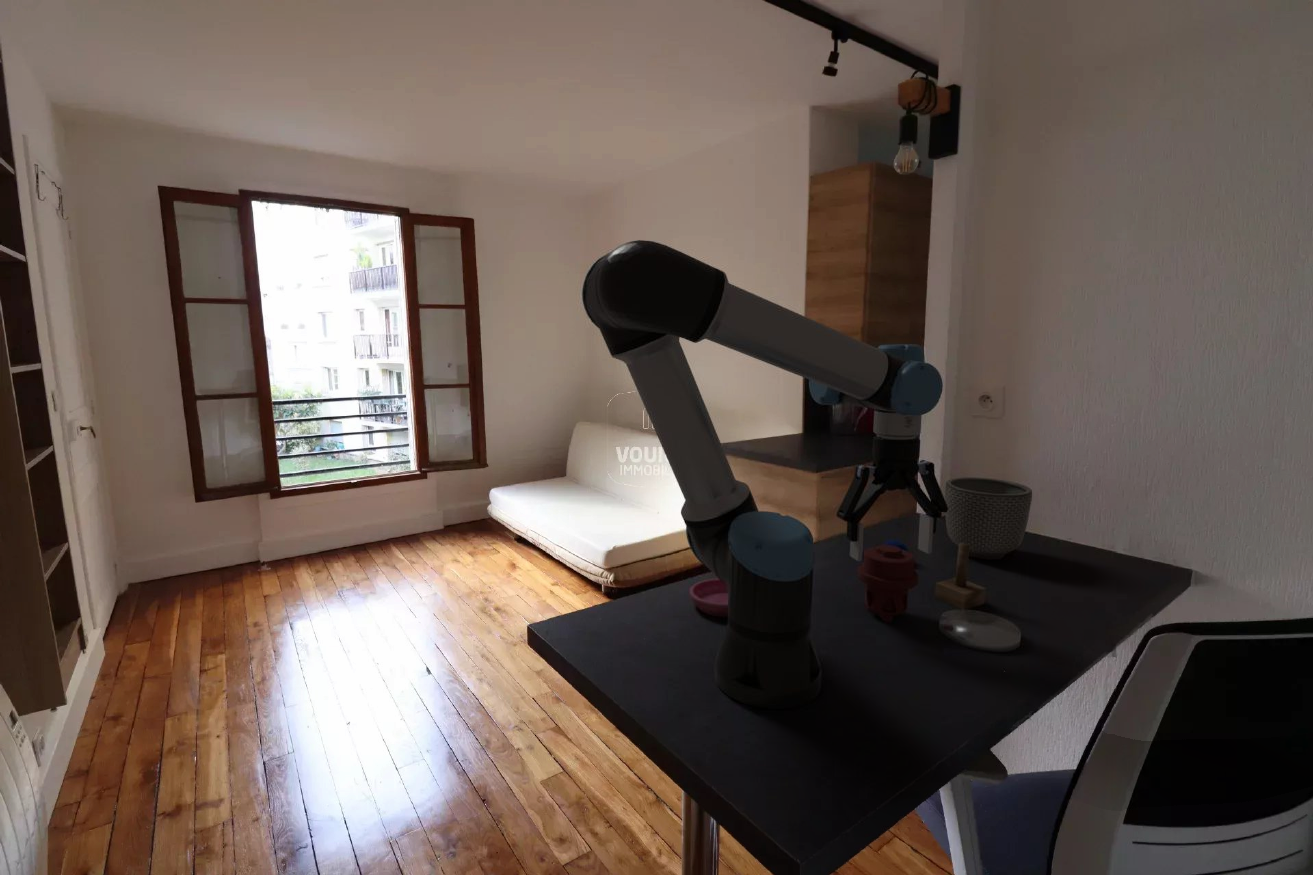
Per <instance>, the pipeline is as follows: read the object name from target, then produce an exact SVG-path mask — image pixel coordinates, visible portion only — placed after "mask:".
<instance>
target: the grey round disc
mask: <svg viewBox="0 0 1313 875" xmlns="http://www.w3.org/2000/svg"><path fill="white" fill-rule="evenodd" d="M938 626H939V627H938V628H939V631H940V632H941V633H942V635H944V636H945V637H946V638H948V639H949V640H951V641H953V642H955V643H957V644H958V645H962V646H964V647H968V648H971V649H974V650H979V651H985V652H995V653H1001V652H1002V653H1003V652H1010V651H1014V650H1016V649H1018V648H1019V647H1020V646H1021V639H1022V638H1021V637H1022V632H1021V629H1020V628H1019V627H1018V626H1017V625H1016V624H1015V623H1013V622H1011V621H1010V620H1007V619H1006V618H1003V617H1001V616H999V615H996V614H993V613H989V612H985V611H980V610H974V609H965V610H963V609H952V610H947V611H945V612H943V613H941V615H940V616H939V625H938Z"/></svg>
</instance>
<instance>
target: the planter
mask: <svg viewBox="0 0 1313 875" xmlns="http://www.w3.org/2000/svg"><path fill="white" fill-rule="evenodd" d="M944 489H945V490H944V499H945V502H946V504H947V507H948V511H947V512H945V513H944V514H945V526H946V531H947V532H946V533H947V535H948V537H949V539H950V540H951V541H952V542H953V543H954V544H955V545H957V546H959V543H966V544H969V545H970V546H969V557H972V558H974V559H979V560H980V559H981V560H988V561H995V560H996V561H997V560H1001V559H1003V558H1004V556H1005V555H1006V554H1007V553H1008V554H1009V553H1011V552H1013V551H1014V550H1016V549H1018V548H1019V547H1020V545H1021V544H1022V541H1023V539H1024V536H1025V533H1026V530H1027V526H1028V521H1029V516H1030V511H1031V505H1032V499H1033V491H1032V488H1030V487H1029V486H1027V485H1024V484H1021V483H1018V482H1014V481H1009V480H1002V479H999V478H998V479H995V478H989V477H988V478H987V477H955V478H950V479H948V480H947V481H946V483H945V487H944Z"/></svg>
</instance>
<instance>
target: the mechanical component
mask: <svg viewBox="0 0 1313 875" xmlns="http://www.w3.org/2000/svg"><path fill="white" fill-rule="evenodd" d="M867 548H868V549H866V548H865V549H866V550H865V551H864V559H863V561H862V563H860V565H858V567H857V577H858V578H859V579H860V581H861V582H863V583H864V584H865V593H864V594H865V595H864V596H865V597H864V604H865V606H866V610H867V611H869V612H871V613H873V614H875V615H877V616H879V617H880V618H881V619H882V621H883V622H885V623H891V622H893V618H894V617H895V616H896V615H900V614H904V613H905V612H907V610H908V597H909V596H908V595H909V590H911V589H913V588H915V587H916V586H917V585H918V584H919V573H918V572H917V571H916V570H915V556H914V554H912V553H911V552H909V551H908V552H907V551H905V550H902V549H900V548H898V547H896V546H892V545H883V544H880V545H878V546H871V547H867Z"/></svg>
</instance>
